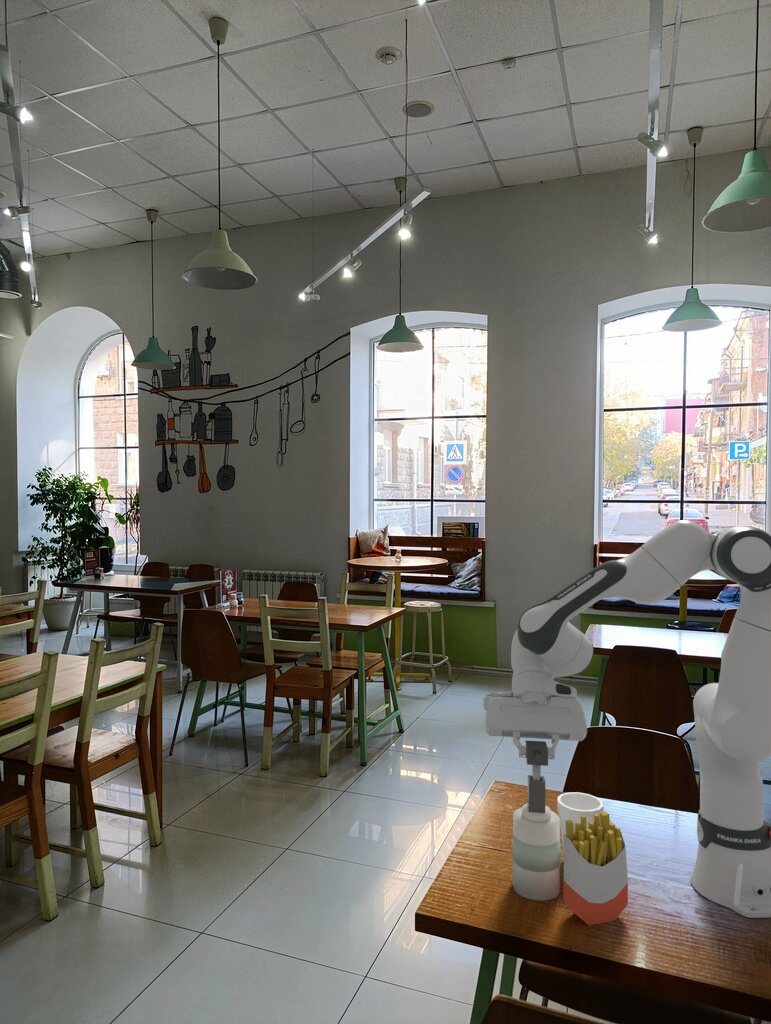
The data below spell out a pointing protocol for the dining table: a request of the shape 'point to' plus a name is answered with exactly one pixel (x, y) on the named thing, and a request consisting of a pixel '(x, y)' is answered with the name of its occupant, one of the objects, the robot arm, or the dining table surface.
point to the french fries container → (595, 870)
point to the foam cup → (577, 809)
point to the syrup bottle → (536, 846)
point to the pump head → (536, 757)
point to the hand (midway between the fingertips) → (536, 757)
